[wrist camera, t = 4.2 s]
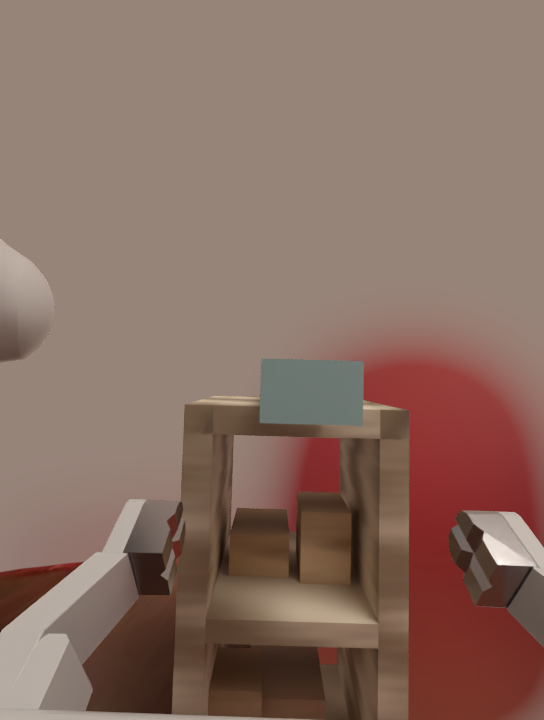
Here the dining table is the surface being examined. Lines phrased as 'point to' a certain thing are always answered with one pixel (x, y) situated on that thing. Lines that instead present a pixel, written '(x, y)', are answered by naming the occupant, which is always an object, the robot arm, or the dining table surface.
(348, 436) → the rack
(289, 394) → the plank
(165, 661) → the dining table surface
